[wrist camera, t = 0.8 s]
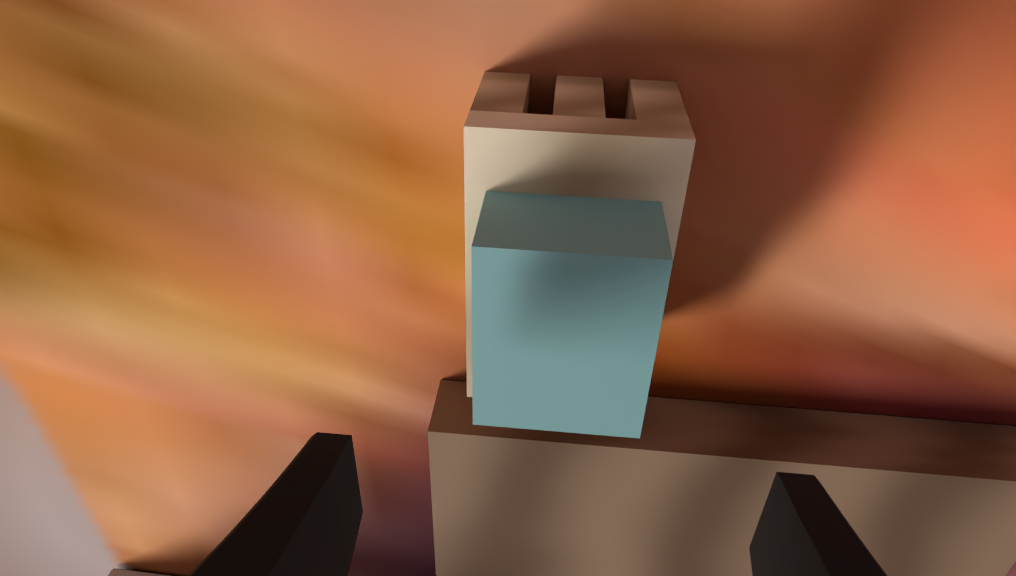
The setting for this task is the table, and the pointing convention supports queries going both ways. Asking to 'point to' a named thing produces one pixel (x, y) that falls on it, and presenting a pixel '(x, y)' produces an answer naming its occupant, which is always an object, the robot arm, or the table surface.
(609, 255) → the teal block
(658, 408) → the dock
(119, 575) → the coffee box
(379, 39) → the table surface
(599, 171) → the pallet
